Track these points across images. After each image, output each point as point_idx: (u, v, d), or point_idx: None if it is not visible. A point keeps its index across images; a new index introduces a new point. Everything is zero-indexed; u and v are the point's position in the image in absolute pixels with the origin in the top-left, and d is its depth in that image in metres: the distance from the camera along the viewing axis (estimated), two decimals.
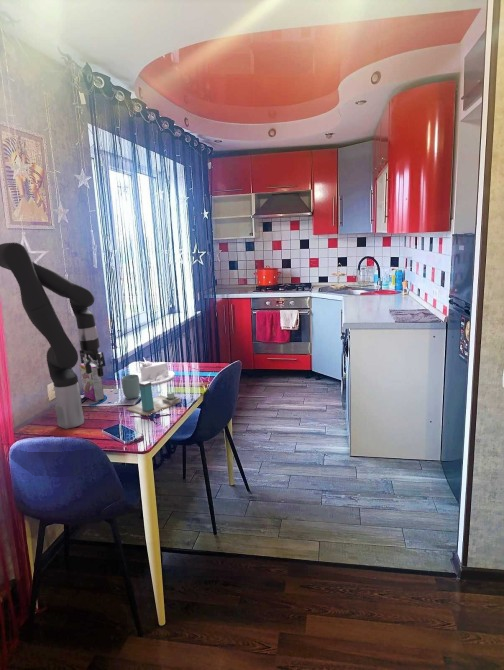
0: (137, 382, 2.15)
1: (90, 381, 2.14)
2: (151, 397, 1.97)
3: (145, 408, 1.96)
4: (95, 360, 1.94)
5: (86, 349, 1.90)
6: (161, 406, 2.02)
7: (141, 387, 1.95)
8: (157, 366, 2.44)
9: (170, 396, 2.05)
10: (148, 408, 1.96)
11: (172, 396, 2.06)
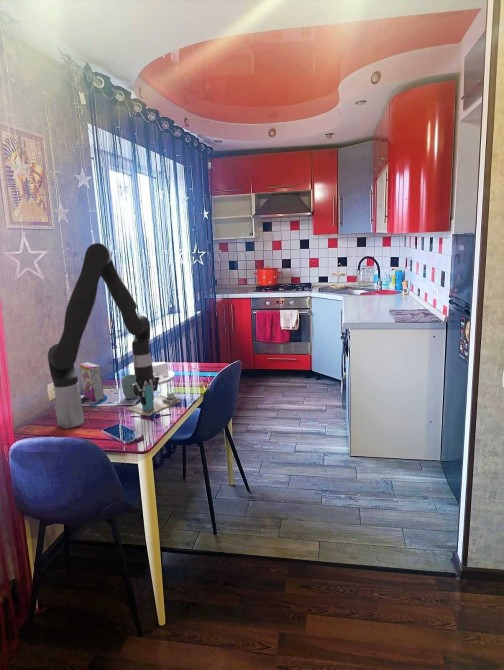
0: None
1: (90, 381, 2.14)
2: (151, 397, 1.97)
3: (145, 408, 1.96)
4: None
5: (152, 372, 1.95)
6: (161, 406, 2.02)
7: None
8: (157, 366, 2.44)
9: (170, 396, 2.05)
10: (148, 408, 1.96)
11: (172, 396, 2.06)
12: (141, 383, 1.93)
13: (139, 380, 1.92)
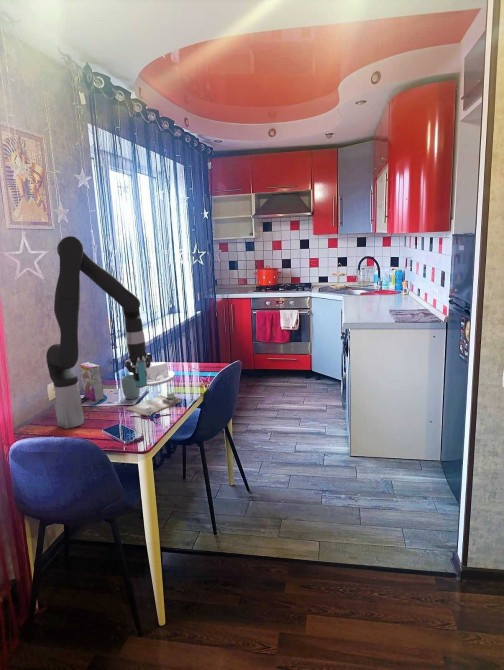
0: None
1: (90, 381, 2.14)
2: (144, 373, 2.03)
3: (138, 384, 2.02)
4: None
5: (145, 349, 2.00)
6: (161, 406, 2.02)
7: None
8: (157, 366, 2.44)
9: (170, 396, 2.05)
10: (141, 384, 2.02)
11: (172, 396, 2.06)
12: (134, 360, 1.99)
13: (132, 357, 1.98)
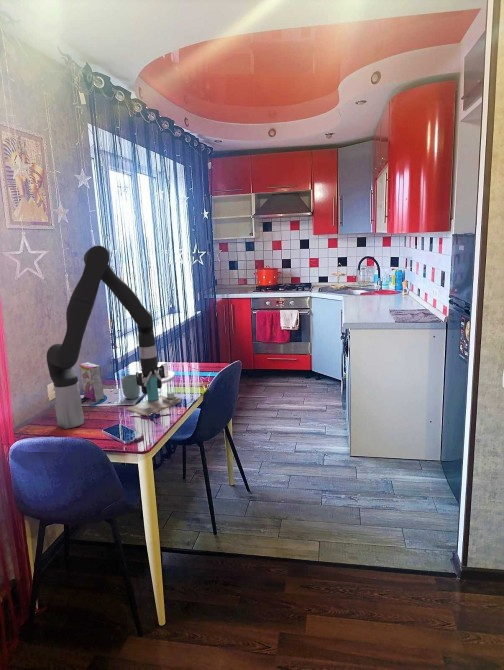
0: None
1: (90, 381, 2.14)
2: (156, 388, 2.08)
3: (150, 398, 2.08)
4: None
5: (157, 364, 2.06)
6: (161, 406, 2.02)
7: None
8: None
9: (170, 396, 2.05)
10: (153, 398, 2.08)
11: (172, 396, 2.06)
12: (146, 372, 2.04)
13: (145, 371, 2.03)
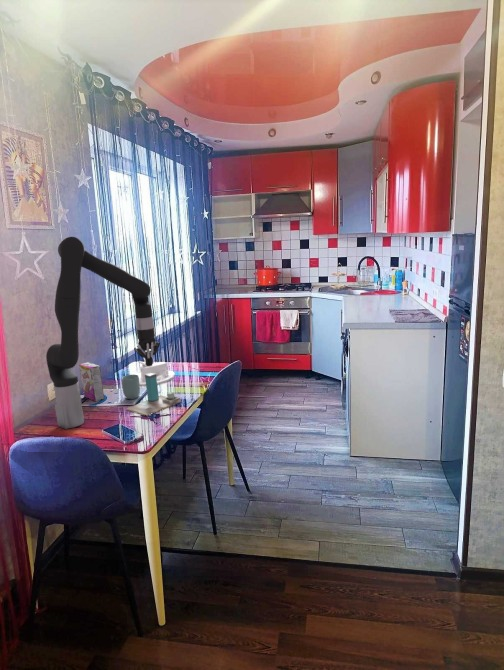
0: (137, 382, 2.15)
1: (90, 381, 2.14)
2: (156, 388, 2.08)
3: (150, 398, 2.08)
4: None
5: (154, 336, 2.03)
6: (161, 406, 2.02)
7: (147, 379, 2.07)
8: (157, 366, 2.44)
9: (170, 396, 2.05)
10: (153, 398, 2.08)
11: (172, 396, 2.06)
12: (144, 346, 2.02)
13: (141, 342, 2.01)
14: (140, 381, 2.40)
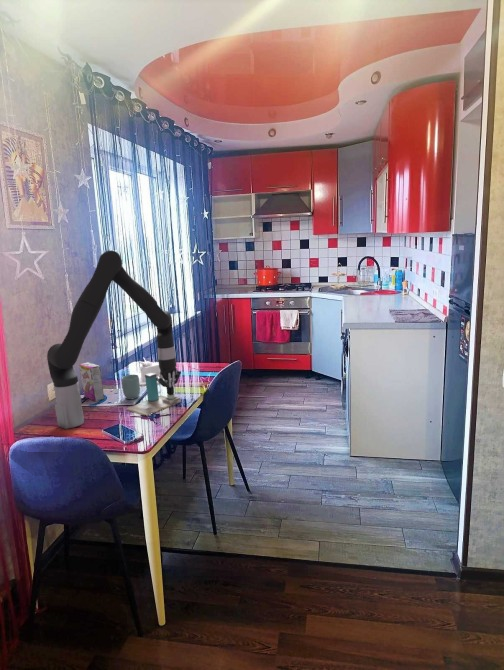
0: (137, 382, 2.15)
1: (90, 381, 2.14)
2: (156, 388, 2.08)
3: (150, 398, 2.08)
4: None
5: None
6: (161, 406, 2.02)
7: (147, 379, 2.07)
8: (157, 366, 2.44)
9: (170, 398, 2.05)
10: (153, 398, 2.08)
11: (172, 398, 2.06)
12: (165, 376, 2.02)
13: (163, 372, 2.01)
14: (140, 381, 2.40)
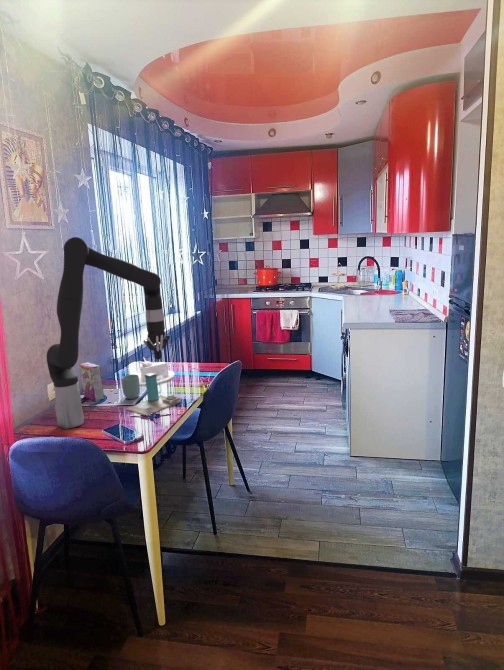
0: (137, 382, 2.15)
1: (90, 381, 2.14)
2: (156, 388, 2.08)
3: (150, 398, 2.08)
4: None
5: (164, 328, 1.99)
6: (161, 406, 2.02)
7: (147, 379, 2.07)
8: (157, 366, 2.44)
9: (170, 398, 2.06)
10: (153, 398, 2.08)
11: (172, 398, 2.06)
12: (153, 339, 1.98)
13: (151, 335, 1.97)
14: (140, 381, 2.40)
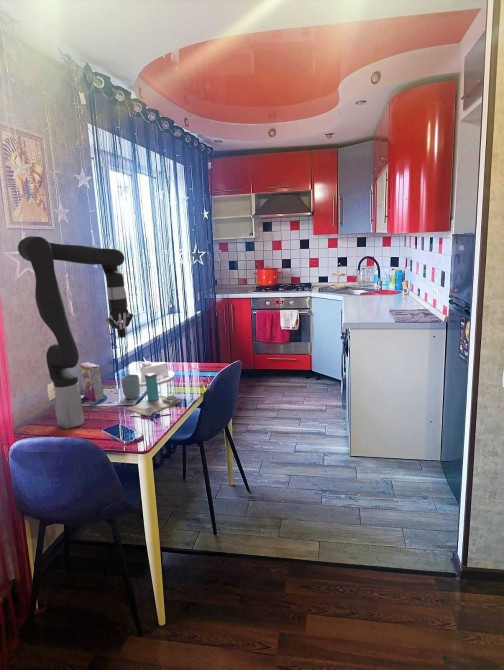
0: (137, 382, 2.15)
1: (90, 381, 2.14)
2: (156, 388, 2.08)
3: (150, 398, 2.08)
4: None
5: (126, 306, 1.98)
6: (161, 406, 2.02)
7: (147, 379, 2.07)
8: (157, 366, 2.44)
9: (170, 398, 2.06)
10: (153, 398, 2.08)
11: (172, 398, 2.06)
12: (115, 317, 1.96)
13: (113, 312, 1.95)
14: (140, 381, 2.40)
